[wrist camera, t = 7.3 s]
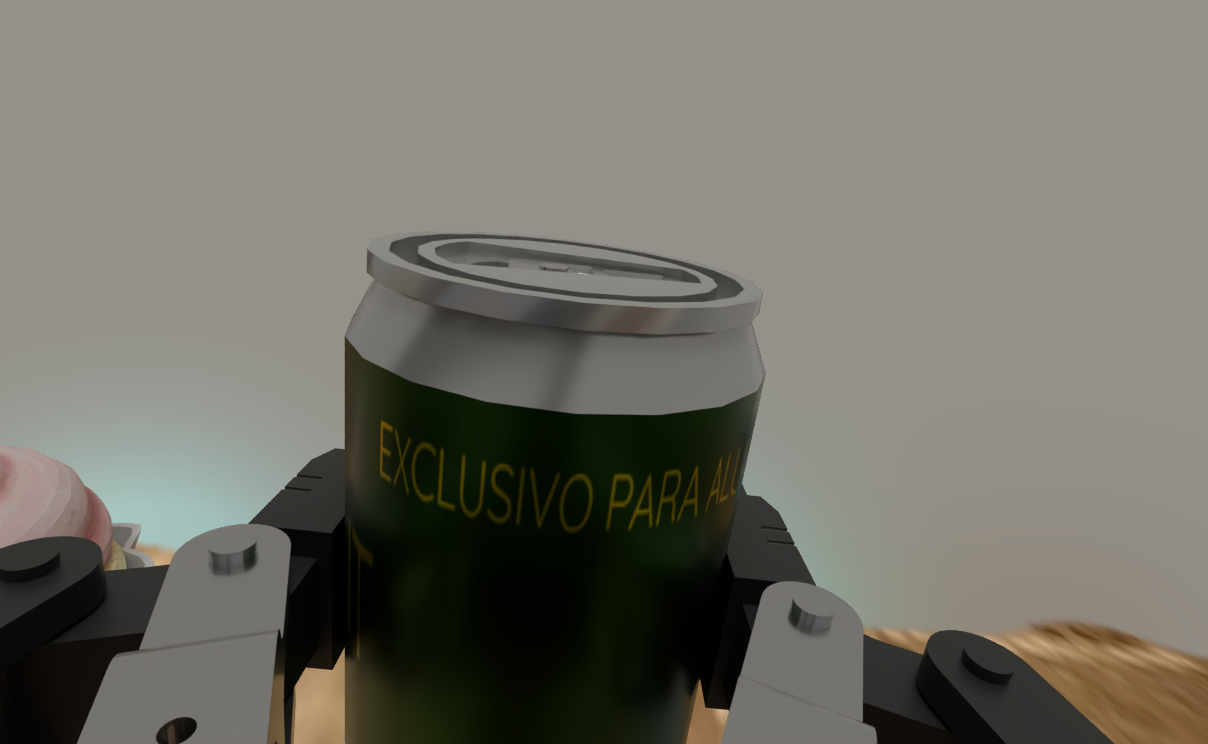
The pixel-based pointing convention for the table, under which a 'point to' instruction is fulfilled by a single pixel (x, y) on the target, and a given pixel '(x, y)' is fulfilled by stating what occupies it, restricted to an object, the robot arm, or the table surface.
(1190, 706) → the table surface
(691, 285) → the beer can
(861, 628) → the robot arm
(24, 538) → the cupcake
